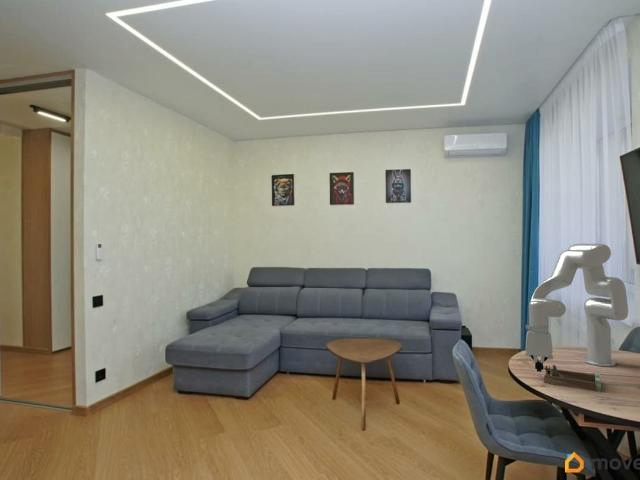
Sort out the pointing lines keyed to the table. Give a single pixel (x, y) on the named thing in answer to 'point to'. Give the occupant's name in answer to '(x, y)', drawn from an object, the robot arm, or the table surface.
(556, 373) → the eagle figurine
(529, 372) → the table surface
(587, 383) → the walnut guide
